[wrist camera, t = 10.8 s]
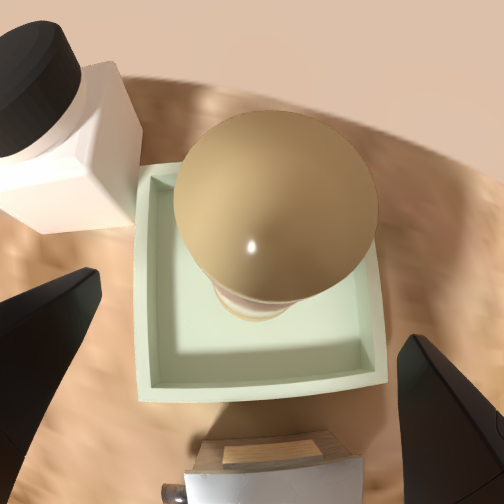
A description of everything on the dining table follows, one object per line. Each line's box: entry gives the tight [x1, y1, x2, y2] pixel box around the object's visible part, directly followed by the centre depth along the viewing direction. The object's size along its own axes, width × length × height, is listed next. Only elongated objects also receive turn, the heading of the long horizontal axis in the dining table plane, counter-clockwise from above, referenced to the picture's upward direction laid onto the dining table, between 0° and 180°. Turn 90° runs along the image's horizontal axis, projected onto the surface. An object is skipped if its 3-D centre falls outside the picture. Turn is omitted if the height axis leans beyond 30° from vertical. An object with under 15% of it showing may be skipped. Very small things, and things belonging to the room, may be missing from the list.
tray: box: [133, 162, 388, 403], centre depth 17 cm, size 12×12×2 cm
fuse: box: [173, 111, 378, 322], centre depth 12 cm, size 5×5×11 cm
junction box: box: [161, 430, 364, 504], centre depth 13 cm, size 5×9×5 cm, turn 93°
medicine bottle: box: [0, 21, 143, 234], centre depth 14 cm, size 7×7×12 cm
